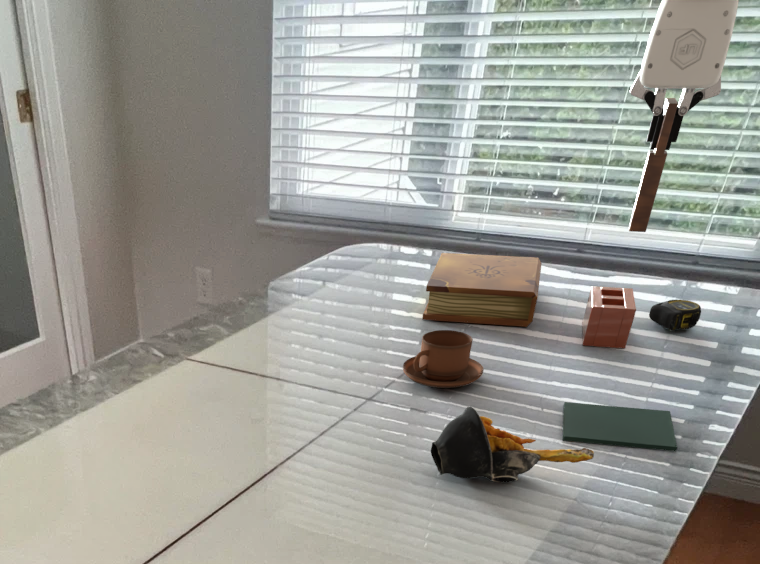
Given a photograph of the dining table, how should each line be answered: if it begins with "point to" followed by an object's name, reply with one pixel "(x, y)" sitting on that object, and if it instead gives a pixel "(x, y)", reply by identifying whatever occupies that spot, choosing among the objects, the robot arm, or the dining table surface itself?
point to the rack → (608, 317)
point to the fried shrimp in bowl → (490, 450)
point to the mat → (618, 426)
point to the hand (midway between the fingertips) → (659, 147)
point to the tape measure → (676, 314)
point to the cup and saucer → (444, 361)
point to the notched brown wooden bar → (652, 172)
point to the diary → (483, 289)
